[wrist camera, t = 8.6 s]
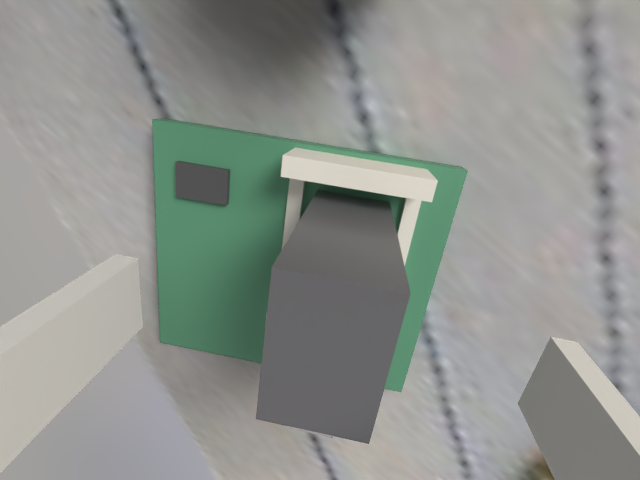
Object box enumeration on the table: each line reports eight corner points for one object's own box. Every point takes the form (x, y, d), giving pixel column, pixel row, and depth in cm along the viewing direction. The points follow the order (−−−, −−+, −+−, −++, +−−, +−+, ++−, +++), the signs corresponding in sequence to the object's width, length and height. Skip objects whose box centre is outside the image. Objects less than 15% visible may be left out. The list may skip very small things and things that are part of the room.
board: (164, 118, 20) (115, 121, 16) (461, 166, 19) (485, 182, 15) (169, 332, 26) (133, 372, 22) (399, 379, 25) (405, 430, 21)
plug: (317, 189, 19) (272, 267, 10) (389, 202, 19) (410, 293, 10) (302, 294, 22) (254, 433, 13) (366, 306, 22) (365, 457, 12)
